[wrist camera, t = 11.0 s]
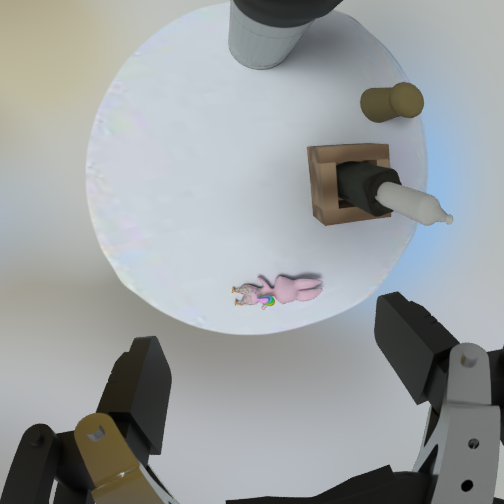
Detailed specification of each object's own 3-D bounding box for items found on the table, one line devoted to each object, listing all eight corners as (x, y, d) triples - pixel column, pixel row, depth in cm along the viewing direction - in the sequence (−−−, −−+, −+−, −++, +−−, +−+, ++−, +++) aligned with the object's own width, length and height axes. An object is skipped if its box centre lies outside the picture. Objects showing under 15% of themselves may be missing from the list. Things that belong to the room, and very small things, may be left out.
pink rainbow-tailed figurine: (238, 305, 52) (321, 296, 51) (233, 324, 47) (326, 315, 45) (231, 274, 50) (320, 264, 48) (226, 291, 45) (325, 281, 43)
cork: (372, 128, 42) (409, 127, 32) (353, 96, 40) (387, 86, 30) (396, 113, 41) (436, 110, 31) (379, 82, 39) (416, 72, 29)
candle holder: (306, 146, 42) (318, 147, 37) (370, 143, 43) (388, 144, 37) (313, 215, 46) (325, 225, 41) (373, 207, 47) (391, 216, 41)
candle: (325, 169, 43) (426, 202, 19) (353, 158, 42) (466, 183, 19) (336, 199, 45) (434, 258, 21) (363, 188, 44) (472, 235, 21)
